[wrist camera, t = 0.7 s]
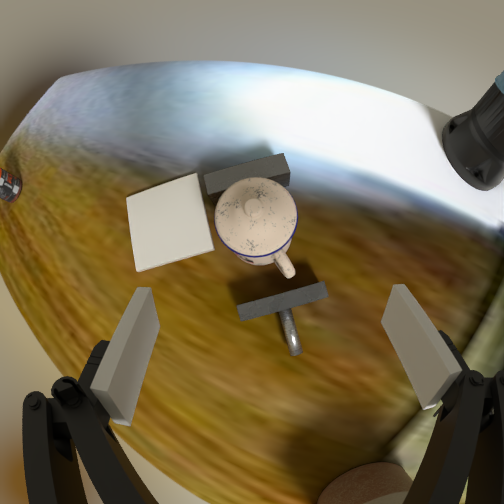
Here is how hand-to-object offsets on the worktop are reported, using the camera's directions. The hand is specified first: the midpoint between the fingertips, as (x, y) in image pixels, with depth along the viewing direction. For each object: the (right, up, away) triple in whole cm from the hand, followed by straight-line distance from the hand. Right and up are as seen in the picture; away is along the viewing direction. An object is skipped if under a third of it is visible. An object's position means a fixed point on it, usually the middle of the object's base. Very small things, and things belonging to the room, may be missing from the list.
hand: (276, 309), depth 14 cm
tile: (-14, +7, +26) cm, 30 cm away
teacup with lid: (+1, +4, +24) cm, 25 cm away
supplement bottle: (-56, +17, +31) cm, 66 cm away
